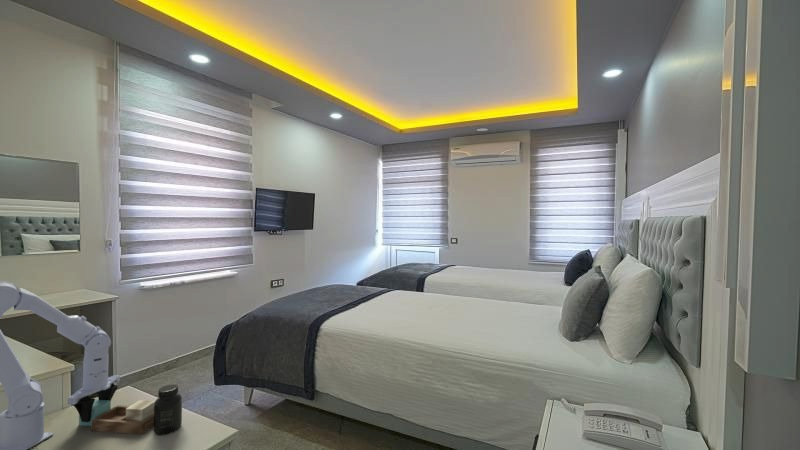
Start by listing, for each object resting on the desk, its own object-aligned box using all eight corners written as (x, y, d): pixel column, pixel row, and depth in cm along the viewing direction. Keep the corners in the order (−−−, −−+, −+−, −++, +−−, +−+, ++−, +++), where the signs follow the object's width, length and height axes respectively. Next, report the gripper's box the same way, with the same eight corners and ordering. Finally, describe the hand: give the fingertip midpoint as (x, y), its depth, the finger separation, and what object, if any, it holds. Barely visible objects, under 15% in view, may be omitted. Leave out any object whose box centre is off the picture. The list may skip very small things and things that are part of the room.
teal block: (78, 425, 100) (79, 408, 100) (95, 415, 105) (95, 399, 105) (94, 426, 100) (95, 409, 100) (110, 416, 105) (110, 400, 105)
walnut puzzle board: (91, 430, 98) (91, 409, 98) (117, 414, 106) (117, 395, 106) (142, 434, 97) (142, 413, 97) (164, 417, 105) (164, 398, 105)
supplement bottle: (187, 423, 102) (187, 383, 102) (169, 437, 96) (170, 394, 96) (166, 421, 103) (166, 381, 103) (147, 435, 96) (148, 392, 96)
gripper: (84, 382, 95) (83, 431, 95) (129, 362, 110) (128, 404, 110) (61, 381, 96) (60, 429, 96) (108, 361, 110) (108, 402, 110)
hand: (95, 416), depth 103 cm, fingers closed on teal block, 5 cm apart
